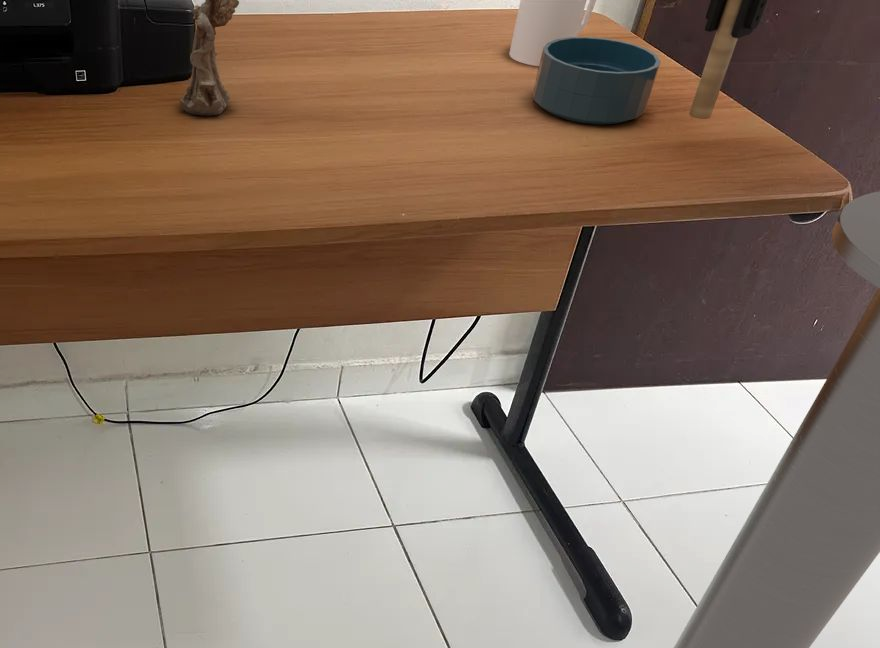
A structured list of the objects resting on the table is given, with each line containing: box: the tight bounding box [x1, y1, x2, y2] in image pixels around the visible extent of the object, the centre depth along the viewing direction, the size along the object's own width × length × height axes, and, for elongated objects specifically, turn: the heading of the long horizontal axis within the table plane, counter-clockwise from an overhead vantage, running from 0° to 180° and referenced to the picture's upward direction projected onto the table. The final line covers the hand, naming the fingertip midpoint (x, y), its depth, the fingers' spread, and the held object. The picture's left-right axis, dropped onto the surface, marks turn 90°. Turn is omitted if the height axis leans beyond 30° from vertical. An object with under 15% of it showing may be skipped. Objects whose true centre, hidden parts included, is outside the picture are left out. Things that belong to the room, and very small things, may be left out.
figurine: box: [179, 0, 240, 117], centre depth 100 cm, size 7×6×15 cm
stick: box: [688, 0, 742, 120], centre depth 94 cm, size 2×2×14 cm
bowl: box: [531, 36, 661, 125], centre depth 106 cm, size 13×13×6 cm
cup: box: [508, 0, 597, 67], centre depth 119 cm, size 8×12×10 cm
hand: (728, 30), depth 92 cm, fingers closed on stick, 2 cm apart
